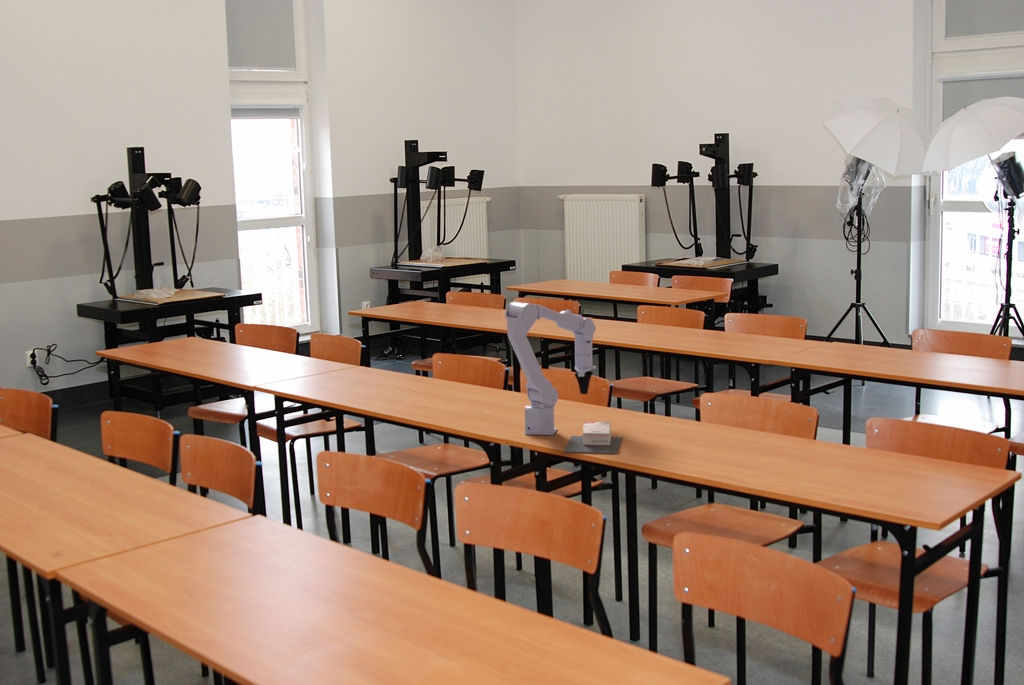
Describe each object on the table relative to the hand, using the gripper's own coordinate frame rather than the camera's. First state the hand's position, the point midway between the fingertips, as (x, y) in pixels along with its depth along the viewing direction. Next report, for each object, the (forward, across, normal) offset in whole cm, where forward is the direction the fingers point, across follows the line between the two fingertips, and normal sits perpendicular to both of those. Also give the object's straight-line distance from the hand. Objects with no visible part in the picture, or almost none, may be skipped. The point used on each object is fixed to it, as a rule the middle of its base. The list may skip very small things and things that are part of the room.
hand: (584, 393), depth 328 cm
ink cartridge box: (+8, -16, -6) cm, 19 cm away
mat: (+10, -26, -6) cm, 29 cm away
